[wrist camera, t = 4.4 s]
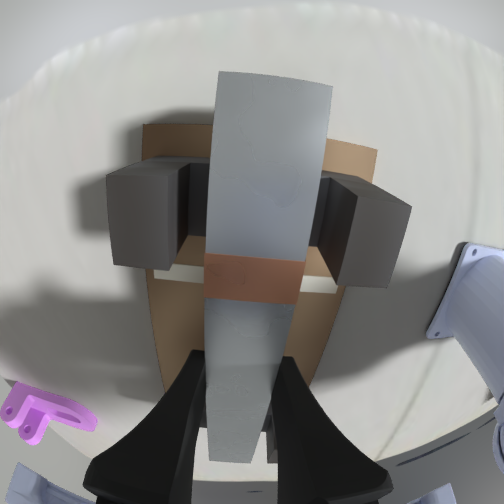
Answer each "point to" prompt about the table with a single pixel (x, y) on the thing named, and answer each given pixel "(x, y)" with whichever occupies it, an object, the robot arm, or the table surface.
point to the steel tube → (256, 243)
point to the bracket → (42, 412)
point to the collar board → (194, 243)
